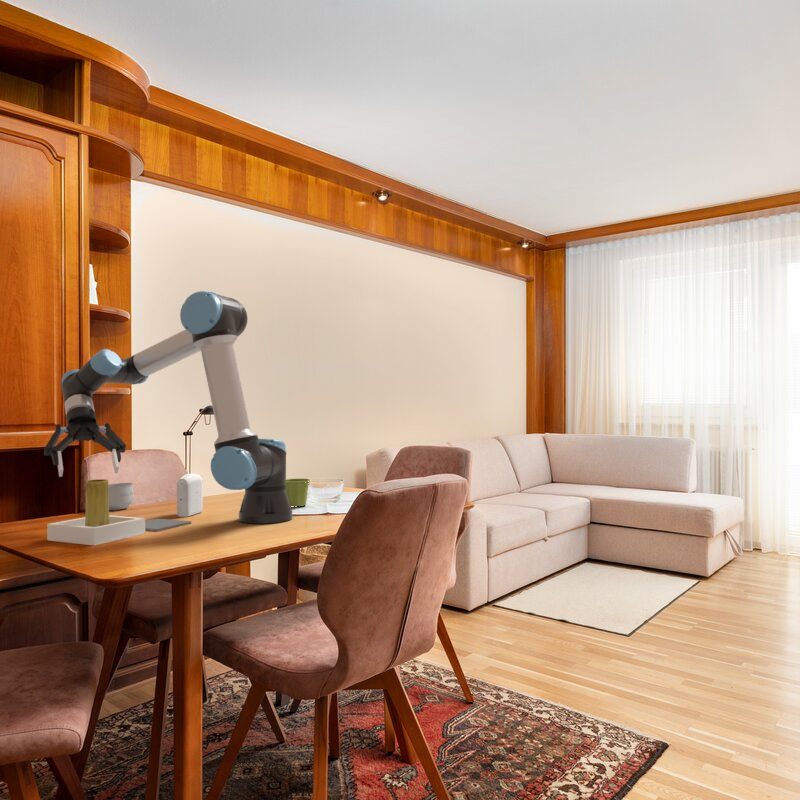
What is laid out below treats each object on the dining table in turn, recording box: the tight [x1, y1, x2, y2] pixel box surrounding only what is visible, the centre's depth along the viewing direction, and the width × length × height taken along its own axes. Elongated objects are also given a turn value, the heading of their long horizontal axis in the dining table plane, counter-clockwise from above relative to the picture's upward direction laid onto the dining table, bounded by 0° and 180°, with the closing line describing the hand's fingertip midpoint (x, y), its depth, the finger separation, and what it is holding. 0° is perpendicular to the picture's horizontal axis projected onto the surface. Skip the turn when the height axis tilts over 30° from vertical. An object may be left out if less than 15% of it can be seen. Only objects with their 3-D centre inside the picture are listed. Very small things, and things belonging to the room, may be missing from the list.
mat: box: [145, 518, 192, 532], centre depth 188 cm, size 13×13×1 cm
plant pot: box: [286, 478, 311, 507], centre depth 222 cm, size 9×9×9 cm
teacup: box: [108, 482, 134, 511], centre depth 221 cm, size 14×11×8 cm
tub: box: [46, 514, 146, 546], centre depth 172 cm, size 16×16×4 cm
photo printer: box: [176, 473, 204, 518], centre depth 207 cm, size 10×4×12 cm, turn 168°
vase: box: [84, 478, 110, 527], centre depth 172 cm, size 6×6×14 cm
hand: (89, 471), depth 181 cm, fingers open, 13 cm apart
